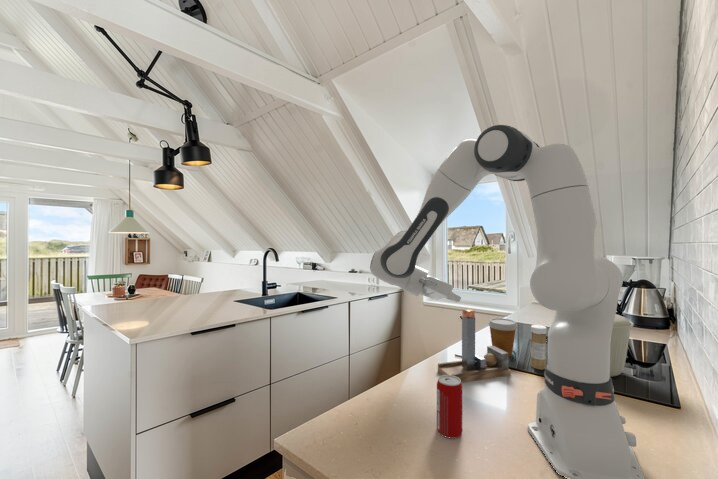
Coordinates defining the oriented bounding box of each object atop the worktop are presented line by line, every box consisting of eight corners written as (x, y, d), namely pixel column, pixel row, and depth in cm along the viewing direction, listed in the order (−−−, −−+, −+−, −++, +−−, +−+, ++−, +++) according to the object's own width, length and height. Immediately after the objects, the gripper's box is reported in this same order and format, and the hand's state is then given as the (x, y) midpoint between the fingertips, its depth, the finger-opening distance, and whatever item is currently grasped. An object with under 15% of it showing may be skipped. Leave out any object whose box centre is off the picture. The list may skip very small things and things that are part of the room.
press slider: (469, 373, 99) (469, 313, 99) (457, 364, 106) (457, 308, 105) (485, 370, 101) (486, 312, 101) (473, 362, 107) (473, 307, 107)
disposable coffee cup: (523, 356, 117) (523, 323, 117) (502, 360, 113) (502, 326, 113) (502, 348, 126) (502, 316, 125) (482, 351, 122) (482, 319, 122)
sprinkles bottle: (534, 363, 111) (534, 323, 111) (548, 367, 108) (549, 326, 107) (528, 366, 108) (528, 326, 108) (542, 371, 105) (543, 329, 104)
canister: (589, 383, 96) (589, 311, 96) (550, 359, 114) (551, 298, 114) (649, 382, 97) (650, 310, 96) (602, 358, 115) (602, 298, 114)
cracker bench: (453, 383, 96) (453, 361, 96) (437, 371, 105) (437, 350, 105) (510, 375, 102) (510, 354, 102) (491, 364, 111) (491, 344, 110)
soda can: (467, 437, 71) (467, 382, 71) (444, 441, 70) (444, 385, 69) (453, 423, 76) (453, 371, 76) (432, 426, 75) (432, 374, 75)
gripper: (426, 268, 96) (472, 288, 94) (418, 276, 116) (455, 292, 114) (418, 288, 95) (464, 308, 93) (411, 292, 115) (448, 309, 113)
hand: (459, 299), depth 103 cm, fingers closed
